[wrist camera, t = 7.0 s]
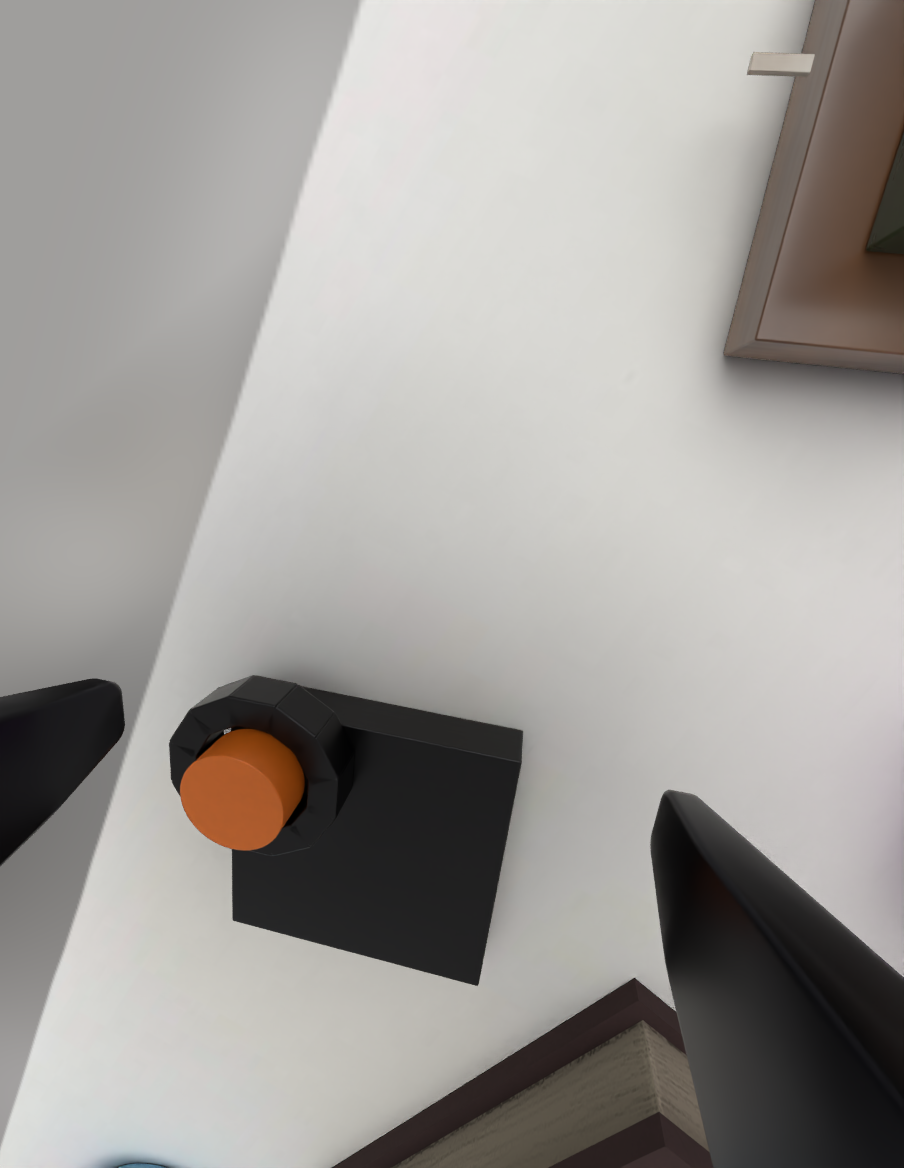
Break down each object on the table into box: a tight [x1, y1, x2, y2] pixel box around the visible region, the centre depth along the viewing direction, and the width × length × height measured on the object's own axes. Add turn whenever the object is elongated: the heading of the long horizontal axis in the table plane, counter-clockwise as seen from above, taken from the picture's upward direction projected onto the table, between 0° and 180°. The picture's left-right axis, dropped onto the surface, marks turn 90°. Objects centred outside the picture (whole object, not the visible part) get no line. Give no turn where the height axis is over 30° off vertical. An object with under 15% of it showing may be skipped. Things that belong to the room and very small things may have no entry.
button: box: [180, 729, 305, 850], centre depth 18 cm, size 4×4×2 cm
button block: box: [169, 675, 523, 986], centre depth 21 cm, size 14×13×4 cm
